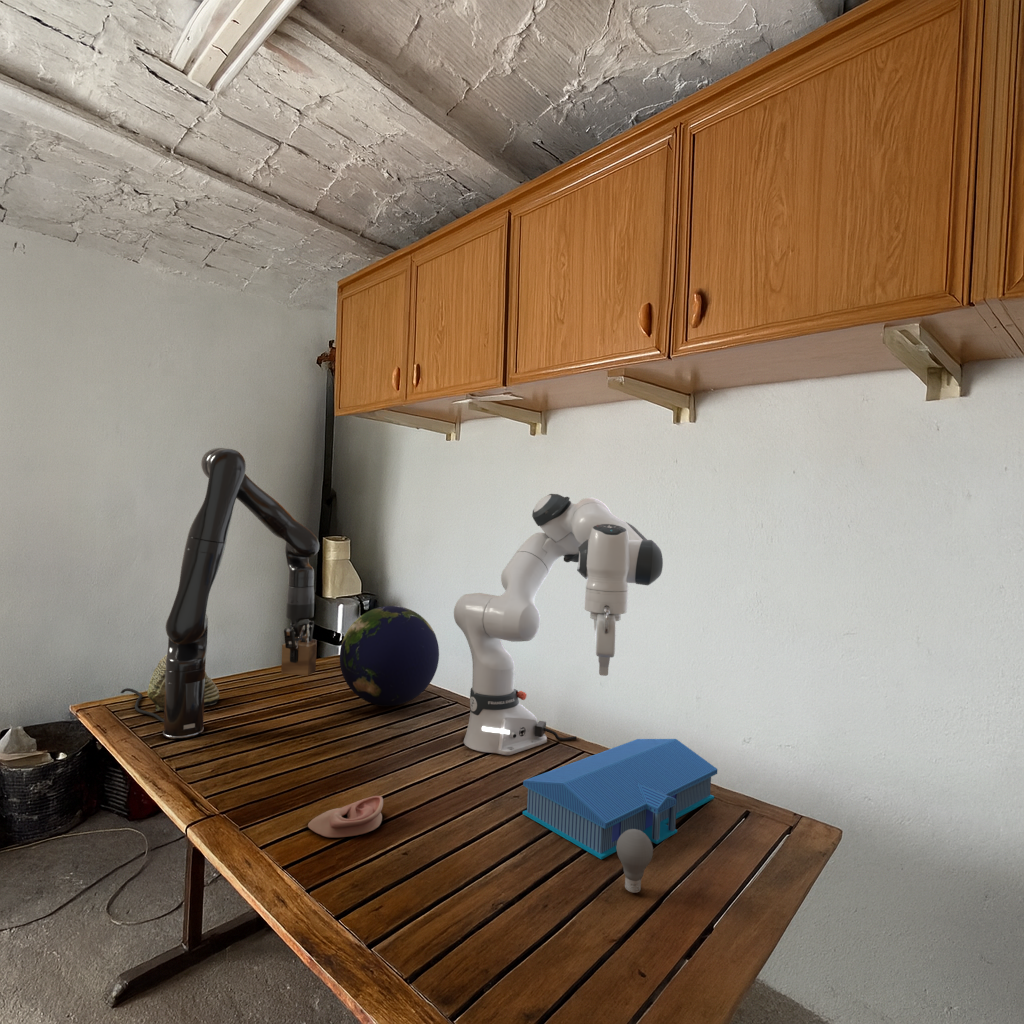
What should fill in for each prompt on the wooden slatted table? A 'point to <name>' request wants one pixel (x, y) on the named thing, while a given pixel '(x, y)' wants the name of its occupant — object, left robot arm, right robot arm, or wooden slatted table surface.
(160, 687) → the fossil
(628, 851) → the light bulb
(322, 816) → the anatomical model
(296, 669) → the block
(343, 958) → the wooden slatted table surface
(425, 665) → the globe
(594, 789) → the model building
